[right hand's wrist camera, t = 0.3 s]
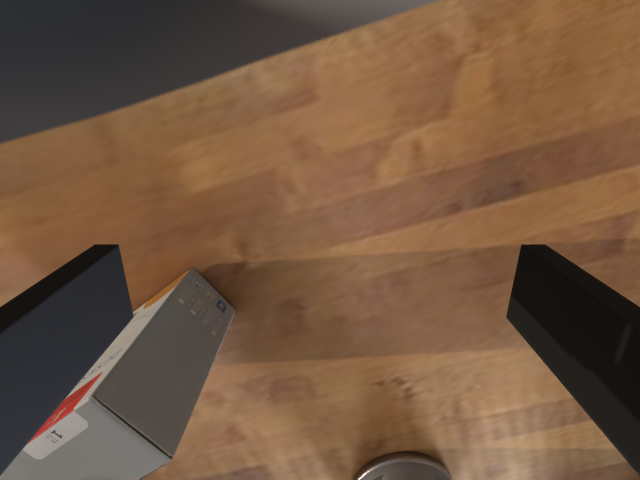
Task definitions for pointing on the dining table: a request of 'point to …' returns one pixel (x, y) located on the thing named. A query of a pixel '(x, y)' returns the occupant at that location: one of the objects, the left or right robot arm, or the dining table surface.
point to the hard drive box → (134, 392)
